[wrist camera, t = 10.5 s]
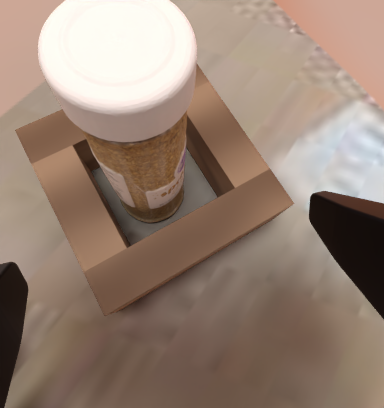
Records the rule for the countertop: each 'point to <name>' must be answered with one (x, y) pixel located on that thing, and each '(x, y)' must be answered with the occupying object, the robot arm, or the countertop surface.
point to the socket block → (173, 233)
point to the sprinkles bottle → (126, 92)
